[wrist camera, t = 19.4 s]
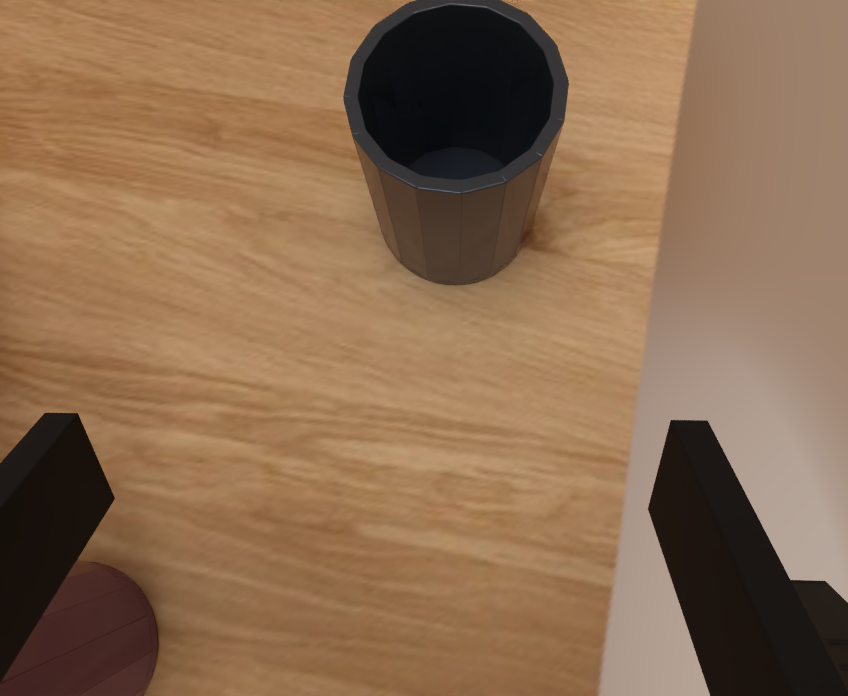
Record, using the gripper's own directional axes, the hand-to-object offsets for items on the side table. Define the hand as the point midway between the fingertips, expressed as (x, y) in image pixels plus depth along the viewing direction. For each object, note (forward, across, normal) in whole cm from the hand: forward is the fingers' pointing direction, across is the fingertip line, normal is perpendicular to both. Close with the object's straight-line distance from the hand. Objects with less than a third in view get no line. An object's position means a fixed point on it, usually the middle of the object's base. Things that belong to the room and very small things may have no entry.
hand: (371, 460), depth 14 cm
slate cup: (+19, -2, +1) cm, 19 cm away
